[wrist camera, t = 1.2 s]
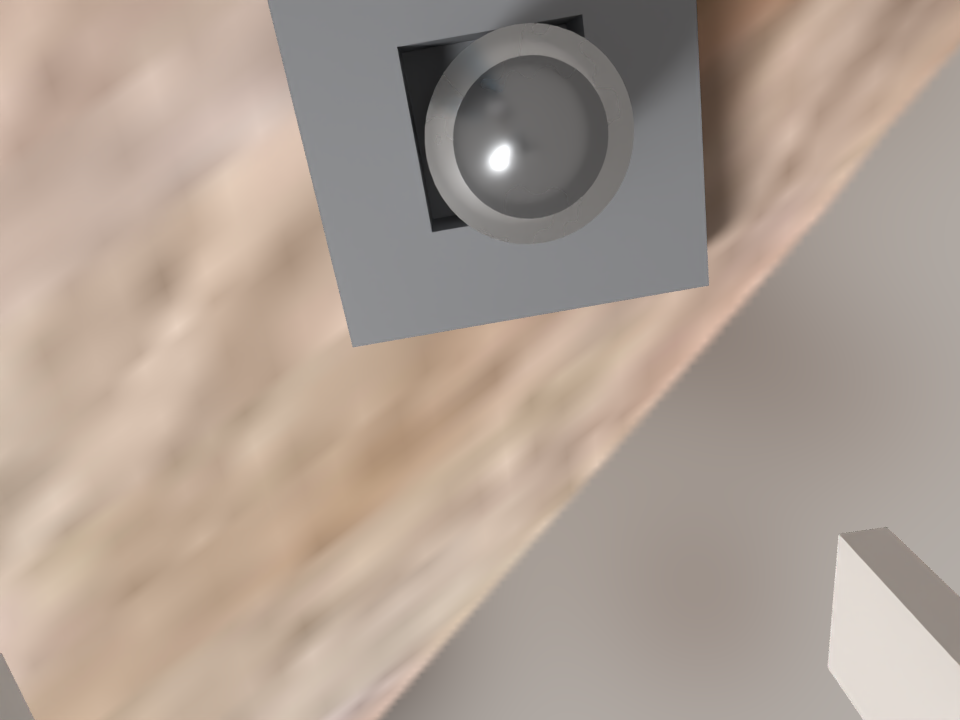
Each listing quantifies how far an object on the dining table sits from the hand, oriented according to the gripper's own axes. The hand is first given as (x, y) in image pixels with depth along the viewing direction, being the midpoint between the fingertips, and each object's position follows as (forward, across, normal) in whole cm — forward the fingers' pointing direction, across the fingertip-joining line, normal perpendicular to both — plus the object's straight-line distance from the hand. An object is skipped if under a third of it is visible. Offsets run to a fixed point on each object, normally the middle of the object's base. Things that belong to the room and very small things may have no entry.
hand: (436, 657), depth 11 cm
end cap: (+24, +4, +7) cm, 25 cm away
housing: (+24, +4, +7) cm, 25 cm away
